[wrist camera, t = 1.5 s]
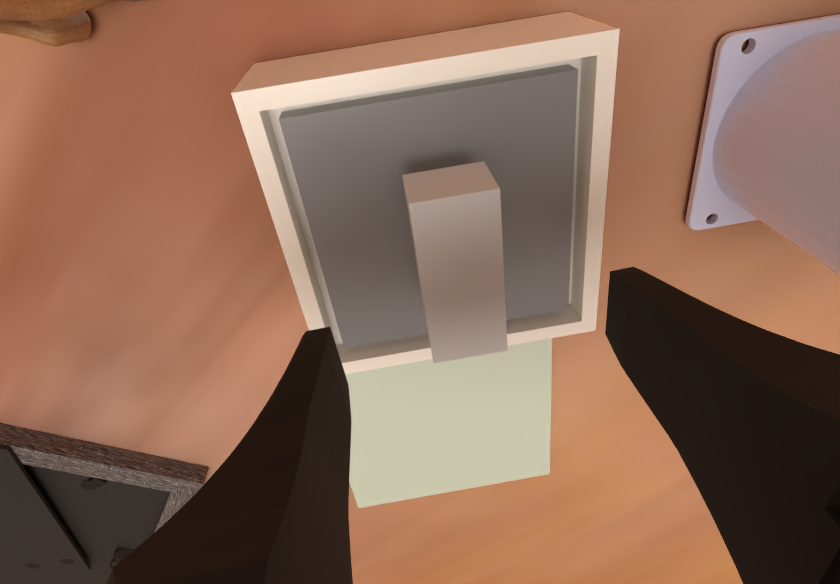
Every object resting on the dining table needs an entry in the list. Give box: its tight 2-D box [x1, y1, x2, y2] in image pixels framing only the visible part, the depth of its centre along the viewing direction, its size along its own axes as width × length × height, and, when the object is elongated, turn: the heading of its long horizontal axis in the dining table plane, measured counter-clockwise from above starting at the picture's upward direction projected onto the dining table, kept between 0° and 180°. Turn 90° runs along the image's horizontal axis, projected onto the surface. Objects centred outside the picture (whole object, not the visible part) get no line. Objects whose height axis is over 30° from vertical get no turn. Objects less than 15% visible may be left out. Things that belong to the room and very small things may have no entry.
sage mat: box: [345, 338, 552, 508], centre depth 29 cm, size 12×12×1 cm
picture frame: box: [0, 423, 209, 584], centre depth 31 cm, size 13×2×18 cm
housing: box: [231, 12, 620, 374], centre depth 19 cm, size 11×11×4 cm
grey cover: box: [279, 64, 578, 363], centre depth 17 cm, size 9×9×4 cm
